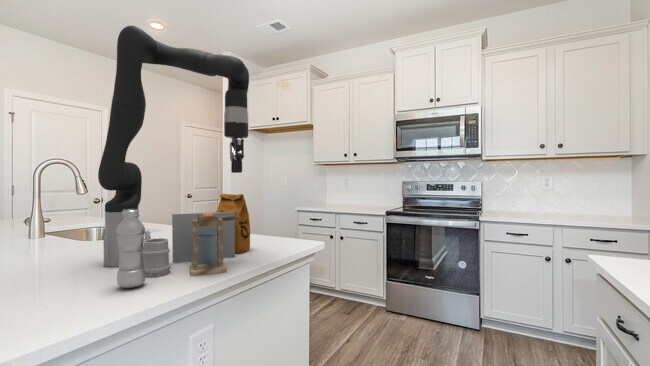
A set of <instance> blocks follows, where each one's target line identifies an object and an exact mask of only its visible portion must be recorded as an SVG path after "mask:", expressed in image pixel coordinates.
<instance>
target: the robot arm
mask: <svg viewBox="0 0 650 366" xmlns="http://www.w3.org/2000/svg"><path fill="white" fill-rule="evenodd" d="M116 43H117V44H116V70H115V78H114V87H113V94H112V99H111V104H110V113H109V122H108V128H107V134H106V140H105V145H104V147H103V152H102V156H101V160H100V162H99V166H98V173H97V174H98V175H97V178H98V179H97V180H98V182H99V184H100V186H101V188H103V189H104V190H106V191H115V194H114V197H113V198H111V199H110V200H108V201H107V202H106V203H105V204H104V229H105V231H104V235H103V267H104V268H105V267H108V268H109V267H110V268H111V267H112V268H114V267H115V268H116V267H118V268H119V245H118V240H117V234H116V231H117V227H118V226H119V224H120V223H121V222H122V221H123V219H124V217H122V215H123V210H125V209H139V206H140V203H141V200H142V184H143V183H142V181H143V178H142V177H143V176H142V171H141V169H140V167H139V166H138V165H137V164H136V163H133V162H130V161H128V162H127V161H126V159H127V158H126V157H127V153H128V148H129V146H130V145H131V143H132V142H133V140H134V139H135V138H136V136H137V135H138V133H139V132H140V131H141V129H142V127H143V124H144V119H145V114H146V107H147V106H146V104H147V101H146V96H145V91H144V86H143V81H142V68H143V64H146V65H149V64H150V65H160V66H166V67H174V68H178V69H182V70H186V71H190V72H192V73H196V74H200V75H204V76H207V77H208V76H209V77H216V76H217V77H223V78H226V79H227V83H228V84H227V89H226V91H225V94H224V115H223V126H224V127H223V133H224V134H223V135H224V137H225V138H227V139H229V138H230V139H231V142H230V143H229V159H230V162H231V165H230V166H231V169H230V170H231V171H230V172H231V173H232V174H235V173H239V174H240V173H243V160H244V158H245V153H244V149H245V148H244V146H245V145H244V143H245V140H244V139H247V138H248V137H249V113H248V92H249V83H250V72H249V69H248V67H246V65H245V63H244V62H243V61H242V60H241V59H240V58H238V57H235V56H233V55H228V54H214V53H212V52H208V51H203V50H201V49H196V48H195V49H194V48H188V47H187V48H186V47H173V46H171V45H167V44H165V43H162V42H160V41H157V40H155V39H154V38H153V37H152V36H151V35H150V34H148V33H147V32H146V31H144V30H143V29H141V28H140V27H138V26H135V25H127V26H125V27H123V28H122V29H121V30H120V32H119V33H118V37H117V42H116Z"/></svg>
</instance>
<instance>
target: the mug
mask: <svg viewBox="0 0 650 366" xmlns="http://www.w3.org/2000/svg"><path fill="white" fill-rule="evenodd" d="M144 234H145V235H144V242H143V260H144V267H145V272H146V278H158V277H163V276H166V275H168V274H169V273H170V270H171V268H172V266H171V264H170V255H169V254H170V251H171V250H170V247H169V239H168V238H164V237H162V238H161V237H160V238H159V237H158V238H151V237H152V236H151V232H150V230H145V233H144Z"/></svg>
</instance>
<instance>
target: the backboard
mask: <svg viewBox="0 0 650 366" xmlns="http://www.w3.org/2000/svg"><path fill="white" fill-rule="evenodd" d="M204 213H205V212H195V213H193V212H192V213H190V212H189V213H172V214H171V217H172V218H171V219H172V221H171V223H172V225H171V226H172V229H171V231H172V232H171V235H172V239H171V240H172V244H171V247H172V263H174V264H175V263H184V262H186V261H187V262H191V236H192V235H193V224H192V221H193V220H197V221H198V214H200V216H201V217H203V214H204ZM212 213H215V215H216V216H218V217H223V216H235V212H217V211H215V212H212ZM201 233H217V226H199V223H198V234H201ZM235 256H236V253H235V220H228V221H223V259H226V258H227V259H228V258H235Z"/></svg>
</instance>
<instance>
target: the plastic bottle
mask: <svg viewBox="0 0 650 366" xmlns="http://www.w3.org/2000/svg"><path fill="white" fill-rule="evenodd" d="M122 217H124V219H123V221H122V222H121V223H120V224H119V226H118V227H117V231H116V234H117V240H118V245H119V267H118V270H117V275H116V281H117V282H116V283H117V285H118V286H119V288H121V289H132V288H137V287H139V286H142V285H144V283H145V282H146V280H147V279H146V278H147V277H146V272H145V267H144V260H143V244H144V238H145V231H146V228H145V225H144V224H143V222H142V221H141V220H140V219H139V217H140V209H139V208H138V209H125V210H123V215H122Z"/></svg>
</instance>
